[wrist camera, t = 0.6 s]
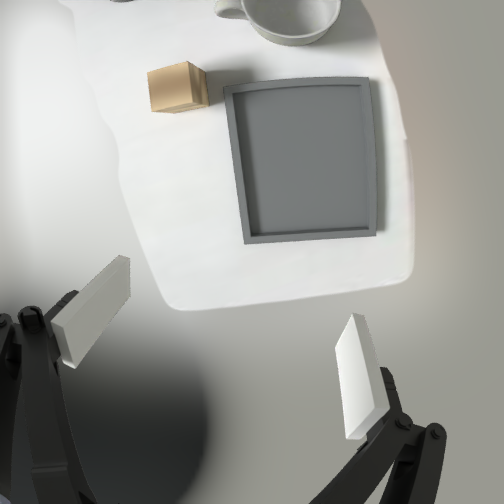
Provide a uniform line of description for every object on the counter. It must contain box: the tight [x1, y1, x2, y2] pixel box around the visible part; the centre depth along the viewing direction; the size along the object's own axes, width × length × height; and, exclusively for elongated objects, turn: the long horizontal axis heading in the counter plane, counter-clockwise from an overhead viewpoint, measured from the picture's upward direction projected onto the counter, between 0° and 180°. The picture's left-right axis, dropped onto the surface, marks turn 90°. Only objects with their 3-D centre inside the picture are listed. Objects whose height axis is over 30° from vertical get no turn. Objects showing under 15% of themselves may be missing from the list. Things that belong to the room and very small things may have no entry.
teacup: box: [214, 0, 341, 46], centre depth 24 cm, size 14×11×8 cm
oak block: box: [147, 61, 209, 113], centre depth 30 cm, size 5×5×7 cm
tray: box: [223, 77, 377, 244], centre depth 35 cm, size 21×18×2 cm
